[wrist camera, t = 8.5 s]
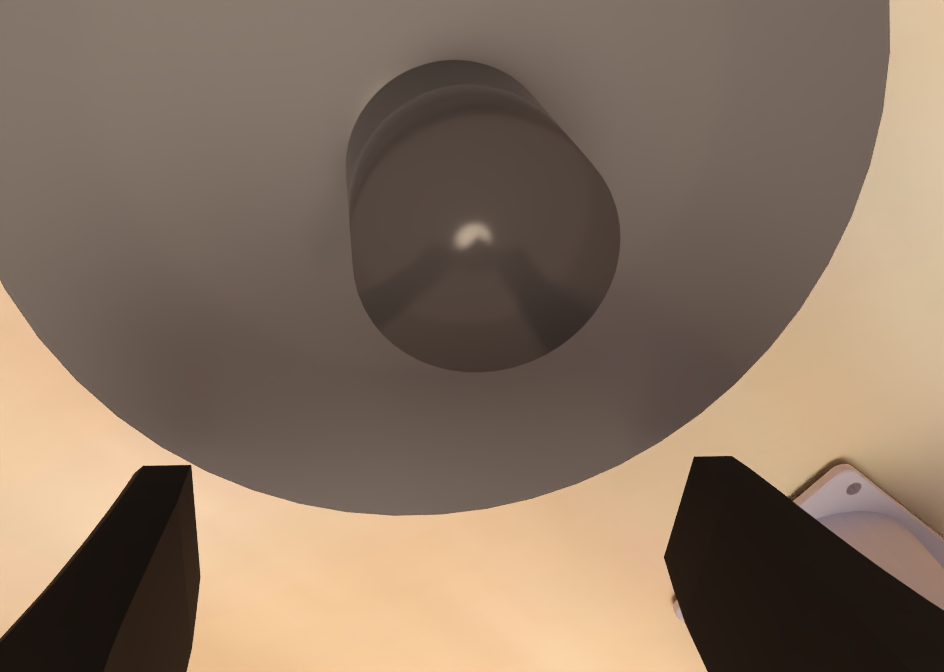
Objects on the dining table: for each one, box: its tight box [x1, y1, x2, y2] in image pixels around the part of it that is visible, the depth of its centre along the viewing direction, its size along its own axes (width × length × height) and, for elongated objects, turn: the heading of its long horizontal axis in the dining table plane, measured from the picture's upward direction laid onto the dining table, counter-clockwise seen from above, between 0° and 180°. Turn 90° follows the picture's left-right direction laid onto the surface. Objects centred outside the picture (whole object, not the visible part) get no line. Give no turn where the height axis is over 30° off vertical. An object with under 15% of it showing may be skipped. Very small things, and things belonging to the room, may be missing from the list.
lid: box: [0, 0, 890, 516], centre depth 11 cm, size 13×13×4 cm
